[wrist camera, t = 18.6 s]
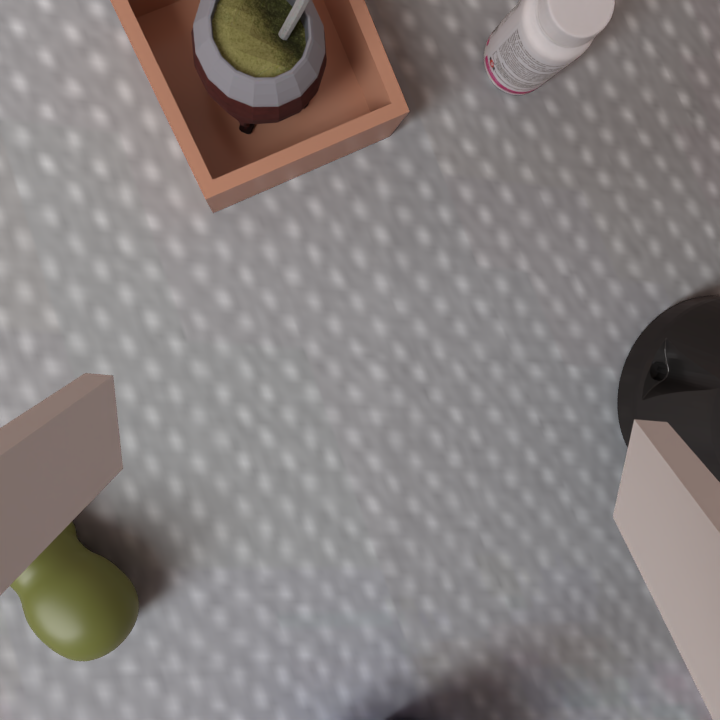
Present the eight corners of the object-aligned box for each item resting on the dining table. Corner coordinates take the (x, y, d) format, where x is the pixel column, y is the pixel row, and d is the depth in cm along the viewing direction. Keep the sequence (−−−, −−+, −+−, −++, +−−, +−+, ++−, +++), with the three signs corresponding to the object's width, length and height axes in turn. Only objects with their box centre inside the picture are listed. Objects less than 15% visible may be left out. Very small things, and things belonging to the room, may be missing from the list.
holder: (308, -56, 37) (316, -116, 32) (388, 136, 39) (409, 111, 34) (119, 17, 36) (95, -32, 31) (213, 213, 38) (205, 199, 33)
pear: (67, 698, 34) (-52, 570, 34) (102, 653, 40) (0, 542, 39) (141, 631, 34) (24, 503, 34) (166, 596, 40) (65, 485, 40)
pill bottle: (546, 99, 41) (619, 49, 33) (480, 94, 40) (538, 41, 32) (550, 26, 40) (625, -43, 32) (483, 19, 40) (542, -54, 31)
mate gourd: (186, 118, 36) (137, -4, 22) (226, -9, 36) (203, -221, 21) (303, 162, 38) (331, 77, 23) (342, 41, 37) (397, -124, 23)
